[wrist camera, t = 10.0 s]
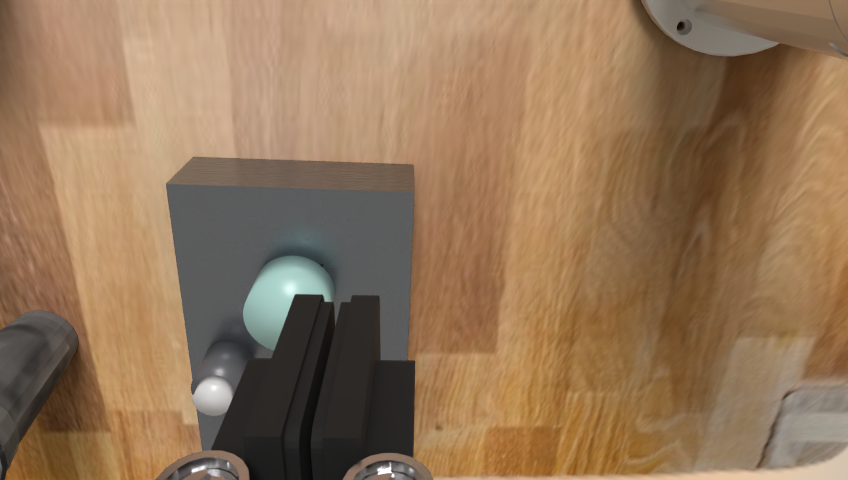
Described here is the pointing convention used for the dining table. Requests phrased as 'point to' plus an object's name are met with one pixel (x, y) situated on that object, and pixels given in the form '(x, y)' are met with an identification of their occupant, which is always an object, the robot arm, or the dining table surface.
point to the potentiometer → (219, 377)
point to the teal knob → (282, 295)
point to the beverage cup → (29, 373)
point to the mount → (288, 243)
